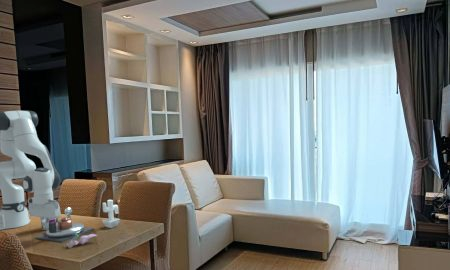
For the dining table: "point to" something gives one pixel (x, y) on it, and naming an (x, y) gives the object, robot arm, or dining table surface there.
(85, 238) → the rabbit figure
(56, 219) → the supplement can
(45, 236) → the plinth
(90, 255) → the dining table surface
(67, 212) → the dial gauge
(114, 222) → the figurine
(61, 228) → the cover
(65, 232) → the turntable
